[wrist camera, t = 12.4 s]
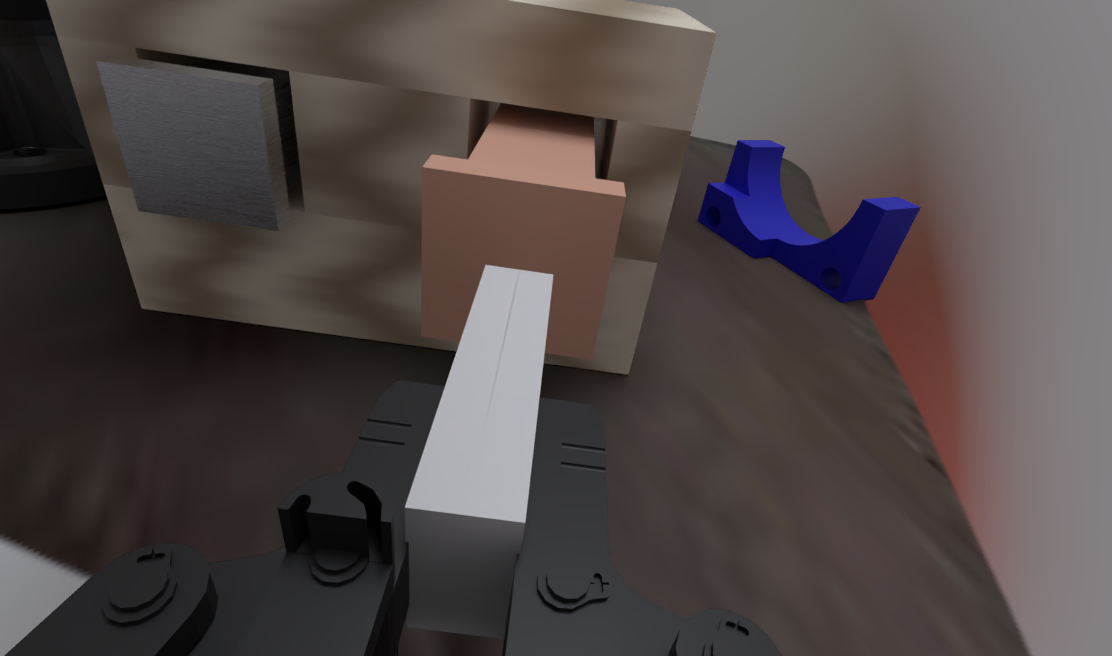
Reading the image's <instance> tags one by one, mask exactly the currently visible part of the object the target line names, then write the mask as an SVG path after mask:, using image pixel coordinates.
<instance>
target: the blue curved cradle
mask: <svg viewBox="0 0 1112 656" xmlns="http://www.w3.org/2000/svg"><path fill="white" fill-rule="evenodd" d="M784 149H785V147H784V146H781V145H779V144H777V143H775V142H773V141H770V140H738V141H737V145H736V148H735V151H734V154H733V158H732V161H731V164H730V167H729V171H728V174H727V177H726V180H725V183H708V187H707V190H706V194H705V197H704V200H703V204H702V207H701V211H700V214H699V218H698V221H699V222H700V223H702V224H703V225H705V226H706V227H708V228H709V229H711V230H712V231H714V232H715V233H717V234H718V235H719V236H721V237H722V238H724V239H725V240H727V241H728V242H730V243H731V244H733V245H734V246H736V247H737V248H739V249H740V250H742V251H743V252H745V253H746V254H748V255H749V256H751V257H752V258H762V257H772V258H773V259H775V260H777V261H778V262H780V263H781V264H783V265H784V266H786V267H787V268H789V269H790V270H792V271H793V272H795V273H796V274H798V275H800V276H801V277H803V278H804V279H806V280H807V281H809V282H810V283H812V284H813V285H815V286H816V287H818V288H820V289H821V290H823V291H824V292H826V293H827V294H829V295H830V296H832V297H833V298H835V299H836V300H838V301H839V302H841V303H844V302H849V301H855V300H860V299H864V300H865V301H868V300H873V299H874V297H875V295H876V294H877V292H878V290H879V288H880V286H881V284H882V282H883V280H884V278H885V276H886V274H887V272H888V270H889V268H890V266H891V264H892V262H893V260H894V259H895V257H896V255H897V253H898V251H899V249H900V247H901V245H902V243H903V241H904V239H905V237H906V235H907V233H908V231H909V229H910V227H911V225H912V223H913V221H914V219H915V217H916V215H917V214H918V212H919V210H920V207H919V206H917V205H914V204H912V203H910V202H907V201H905V200H903V199H901V198H899V197H892V198H876V199H863V200H862V202H861V204H860V206H859V208H858V210H857V211H856V213H855V214H854V216H853V217H852V218H851V220H850V221H849V222H848V223H847V224H846V225H845V226H844V227H843V228H842V229H841V230H840V231H839V232H838V233H836V234H835V235H833V236H832V237H830V238H828V239H826V240H820V239H817V238H815V237H812V236H811V235H809V234H807V233H806V232H804V231H803V230H802V229H801V228H800V227H799V226H798V225H797V224H796V223H795V222H794V221H793V219H792V218H791V216H790V215H789V213H788V211H787V209H786V206H785V204H784V201H783V198H782V193H781V187H780V167H781V161H782V156H783V152H784Z"/></svg>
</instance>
